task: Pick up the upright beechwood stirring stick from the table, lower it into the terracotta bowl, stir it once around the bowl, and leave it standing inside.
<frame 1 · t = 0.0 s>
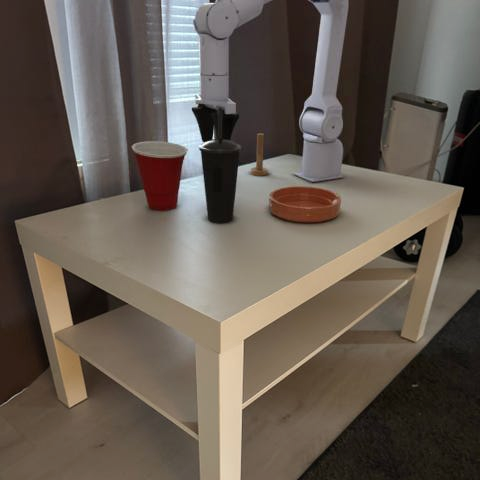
hand: (215, 145, 103), 10 cm above the table, tool pointing down, fingers open, 7 cm apart
drinking cup: (220, 219, 94), on the table
stirring stick: (259, 173, 123), on the table
bowl: (303, 212, 98), on the table
plastic cup: (164, 207, 100), on the table
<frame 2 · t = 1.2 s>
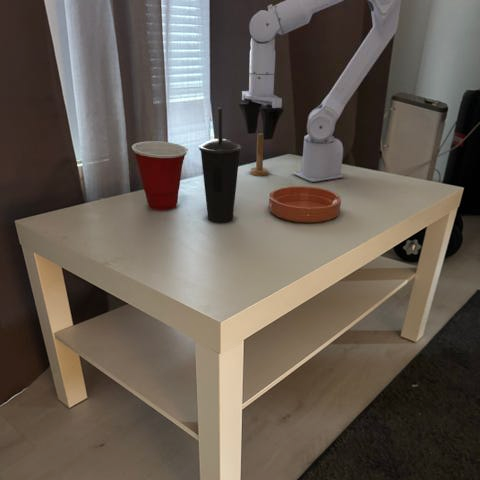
hand: (259, 136, 117), 9 cm above the table, tool pointing down, fingers open, 7 cm apart
nothing on the table moved.
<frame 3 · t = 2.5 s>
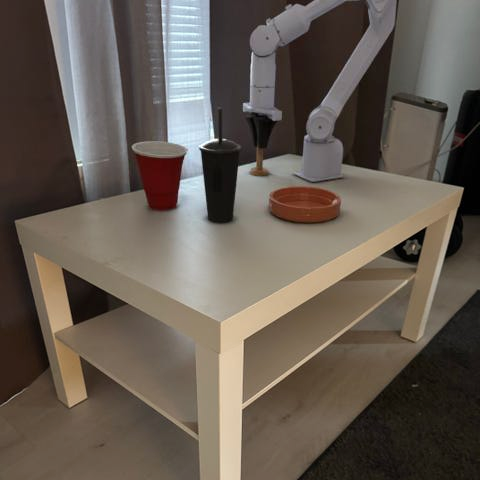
hand: (260, 147, 119), 6 cm above the table, tool pointing down, fingers closed on stirring stick
stirring stick: (259, 173, 123), on the table, touching gripper
everything else where it was.
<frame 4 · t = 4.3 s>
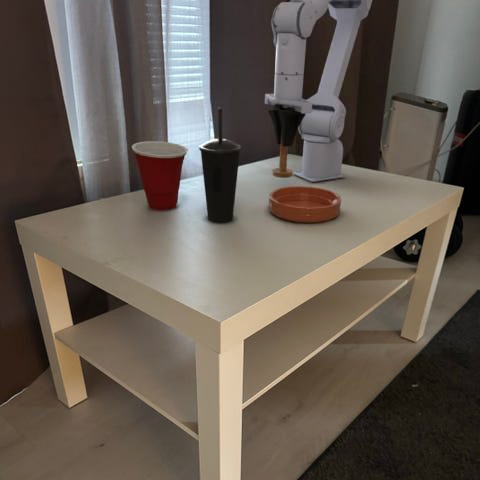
hand: (284, 144, 103), 10 cm above the table, tool pointing down, fingers closed on stirring stick
stirring stick: (282, 175, 107), point 4 cm above the table, touching gripper
everything else where it was.
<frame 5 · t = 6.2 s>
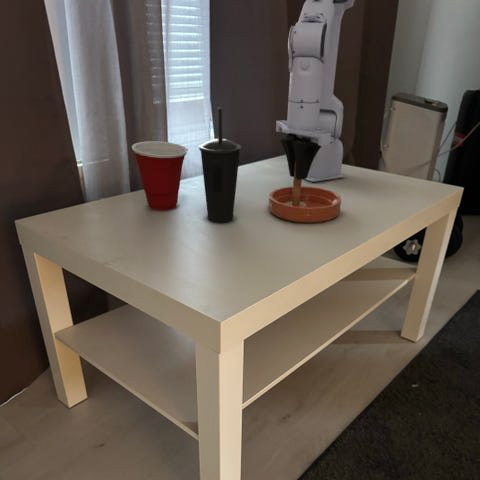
hand: (298, 177, 94), 7 cm above the table, tool pointing down, fingers closed on stirring stick
stirring stick: (295, 209, 97), point 1 cm above the table, touching gripper
everything else where it was.
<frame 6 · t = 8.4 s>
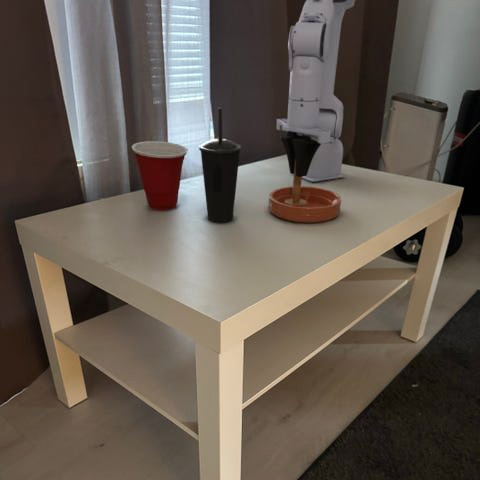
hand: (298, 174, 95), 7 cm above the table, tool pointing down, fingers closed on stirring stick
stirring stick: (295, 206, 98), point 1 cm above the table, touching gripper
everything else where it was.
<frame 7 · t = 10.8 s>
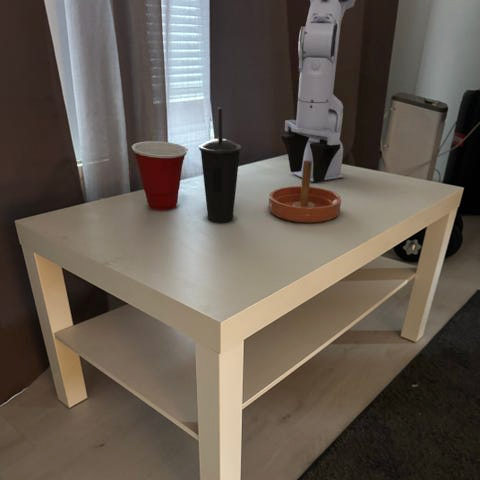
hand: (306, 176, 94), 7 cm above the table, tool pointing down, fingers open, 7 cm apart
stirring stick: (303, 209, 98), point 1 cm above the table, touching bowl
everything else where it was.
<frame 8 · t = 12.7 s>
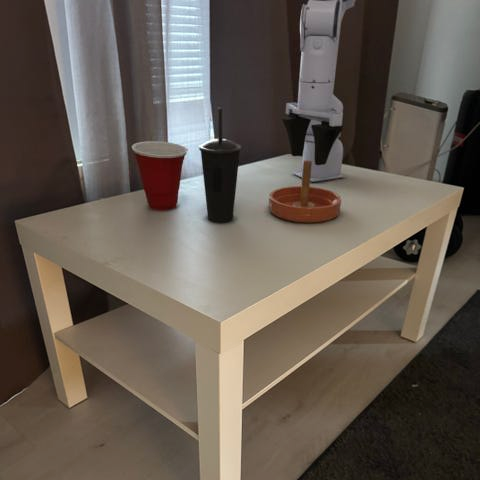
hand: (308, 159, 93), 10 cm above the table, tool pointing down, fingers open, 7 cm apart
nothing on the table moved.
at the end: stirring stick inside the target area in the bowl (0.1 cm from its centre), point 0.6 cm above the bowl's base; stirring stick tilted 0° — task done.
